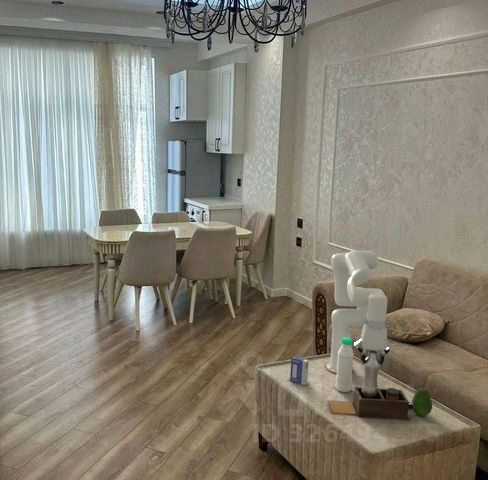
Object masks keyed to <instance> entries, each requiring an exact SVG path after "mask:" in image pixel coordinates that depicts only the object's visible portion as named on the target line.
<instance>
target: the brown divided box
mask: <svg viewBox="0 0 488 480" xmlns="http://www.w3.org/2000/svg"><path fill="white" fill-rule="evenodd" d="M361 388H362V386H361V387H359V386H355V387H354V388H353V389H354V390H353V401H352V404H353V407H354V409H355V412H356V415H357V416H358V417H359V418H374V419H375V418H376V419H391V420H408V417H409V407H410V406H409V405H410V401H409V399H408V398H407V396H406V395H405V393H404V391H403V390H402V389H398V390H399V399H398V400H386V389H387V388H379V387H377V388H378V392H377V395H376V396H374V397H368V396H365V395H363V393H362V390H361Z"/></svg>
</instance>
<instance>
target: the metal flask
mask: <svg viewBox="0 0 488 480" xmlns="http://www.w3.org/2000/svg"><path fill="white" fill-rule="evenodd" d="M378 354H379V353H378V350H368V352H367V357H365V364H363V380H362V385H361V387H362V388H361V390H362V393H363V395H365V396H368V397H374V396H376V395H377V392H378V388H379V387H378V376H379V371H380V367H381V364H380V362H379V358H378V356H379V355H378Z"/></svg>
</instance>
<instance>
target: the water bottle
mask: <svg viewBox="0 0 488 480" xmlns="http://www.w3.org/2000/svg"><path fill="white" fill-rule="evenodd" d="M341 343H342V346H341V348H340V349H339V351H338V361H337V373H336V375H335V386H334V387H335V389H336V390H337V391H339V392H341V393H348V392H351V390H352V381H353V370H354V356H355V353H354V351H353V347H352V345H353V339H351V338H348V337H344V338H342V340H341Z"/></svg>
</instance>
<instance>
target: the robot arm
mask: <svg viewBox="0 0 488 480" xmlns="http://www.w3.org/2000/svg"><path fill="white" fill-rule="evenodd" d="M378 265H379V257H378V254H377V253H376V252H375V251H373V250H359V249H358V250H351V251H348V252H338V253H337V252H336V253H334V254H333V255H332V257H331V260H330V267H331V271H332V273H333V277H334V302H335V305H337V306H338V307H356V308H336V309H335V310H333V311H332V313H331V316H330V317H331V327H332V328H331V346H330V361H329V362H328V363H326V369H327V370H328V371H329V372H331V373H334V374H337V361H338V351H339V349H340V348H341V346H342V343H341V340H342V338H344V337H348V338H351V339H352V338H353V337H352V334H351V332H349V330H348V329H362V330H361V335H360V339H359V340H357V341H356V342H354V343H353V346H354V348H355V349H356V350H357V352H359V354H360V362H361V363H362V364H363V365H364V364H365V359H366V358H367V357H366V352H367V351H370V350H374V351H380V353H379V355H378V356H379V358H378V360H379V362H380V366H383V363H384V362H385V357H386V355H387V354H389V353H390V352H391V351H392V350H393V349H394V346H393V345H392V344H391V343H390V342H389V341H388V330H387V326H386V325H390V321H389V320H386V319H387V310H388V297H387V296H386V294H385V292H384V291H383V290H382V289H381V288H377V287H376V288H375V287H373V288H372V287H362V286H360V285H363V284H365V283H366V282H368V281H369V280H370V279H371V277H372V272H371V270H375V269H376V268H377V267H378ZM352 340H353V339H352ZM360 345H361V347H360Z"/></svg>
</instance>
